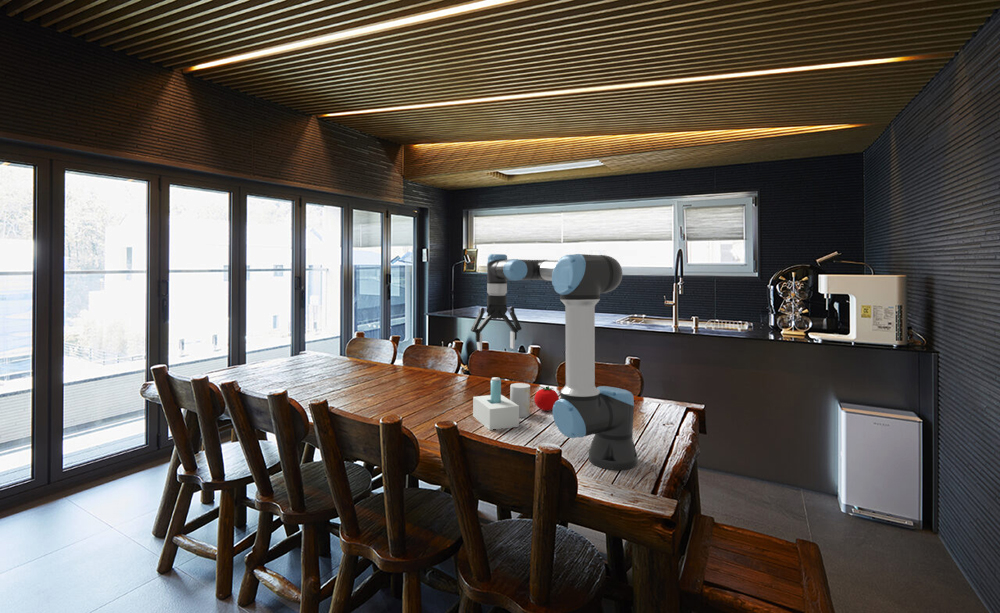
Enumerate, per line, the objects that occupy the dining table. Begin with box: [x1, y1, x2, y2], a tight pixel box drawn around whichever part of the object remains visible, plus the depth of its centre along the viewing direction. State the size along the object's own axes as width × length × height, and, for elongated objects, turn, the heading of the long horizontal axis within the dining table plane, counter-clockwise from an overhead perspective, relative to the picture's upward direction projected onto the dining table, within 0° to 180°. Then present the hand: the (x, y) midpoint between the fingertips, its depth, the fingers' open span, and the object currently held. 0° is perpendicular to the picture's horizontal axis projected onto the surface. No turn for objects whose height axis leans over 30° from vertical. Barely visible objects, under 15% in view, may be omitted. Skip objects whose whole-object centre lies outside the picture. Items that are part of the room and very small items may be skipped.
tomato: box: [534, 385, 560, 412], centre depth 208 cm, size 10×10×10 cm
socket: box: [472, 394, 520, 431], centre depth 192 cm, size 18×12×8 cm, turn 23°
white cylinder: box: [509, 382, 531, 418], centre depth 201 cm, size 8×8×12 cm
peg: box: [490, 376, 502, 404], centre depth 192 cm, size 4×4×15 cm
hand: (496, 349), depth 190 cm, fingers open, 13 cm apart
